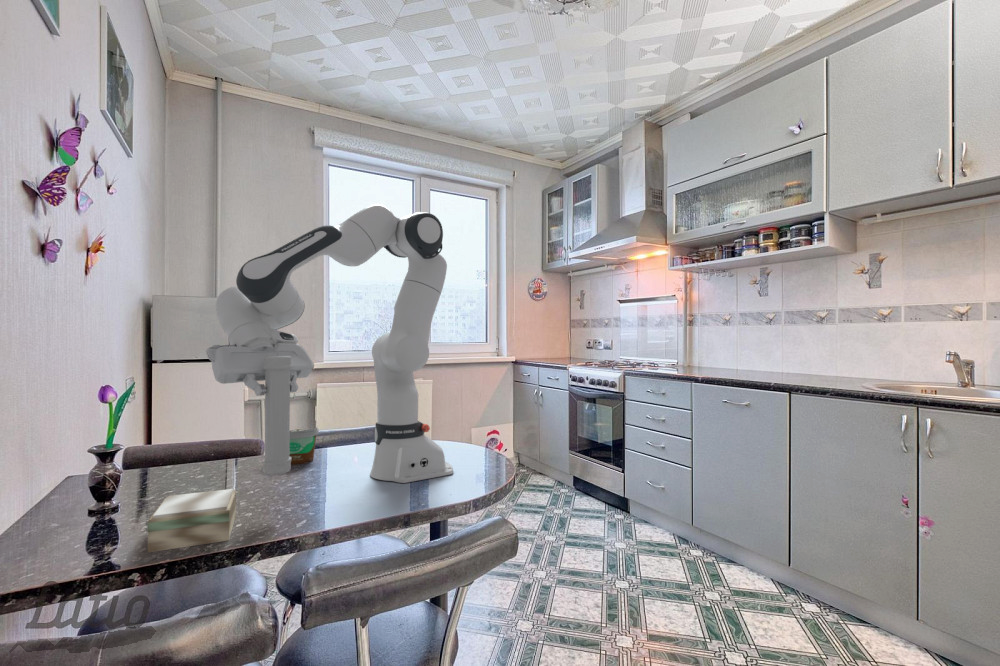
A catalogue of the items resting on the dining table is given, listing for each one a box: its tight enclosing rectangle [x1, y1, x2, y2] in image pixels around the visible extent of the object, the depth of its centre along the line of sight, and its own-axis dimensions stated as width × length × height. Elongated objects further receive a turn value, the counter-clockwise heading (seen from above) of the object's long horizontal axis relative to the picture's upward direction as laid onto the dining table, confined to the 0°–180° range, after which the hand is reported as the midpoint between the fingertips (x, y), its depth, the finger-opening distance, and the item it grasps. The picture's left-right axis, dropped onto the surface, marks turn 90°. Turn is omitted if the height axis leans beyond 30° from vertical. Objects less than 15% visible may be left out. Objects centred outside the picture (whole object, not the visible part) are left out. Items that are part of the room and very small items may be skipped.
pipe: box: [261, 330, 292, 476], centre depth 96 cm, size 6×6×30 cm
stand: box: [147, 488, 237, 553], centre depth 86 cm, size 12×12×6 cm
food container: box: [289, 426, 320, 466], centre depth 135 cm, size 12×6×10 cm, turn 114°
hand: (278, 392), depth 96 cm, fingers closed on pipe, 5 cm apart
